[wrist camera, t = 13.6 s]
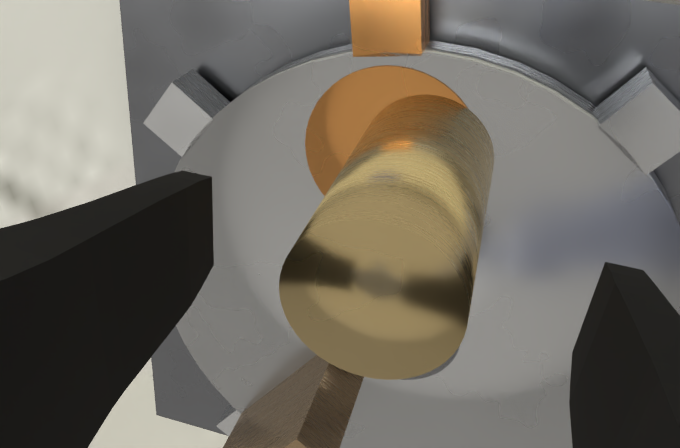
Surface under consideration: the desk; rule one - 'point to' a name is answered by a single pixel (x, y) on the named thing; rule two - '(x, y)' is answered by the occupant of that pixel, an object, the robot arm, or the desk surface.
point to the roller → (395, 244)
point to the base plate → (335, 30)
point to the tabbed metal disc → (495, 251)
